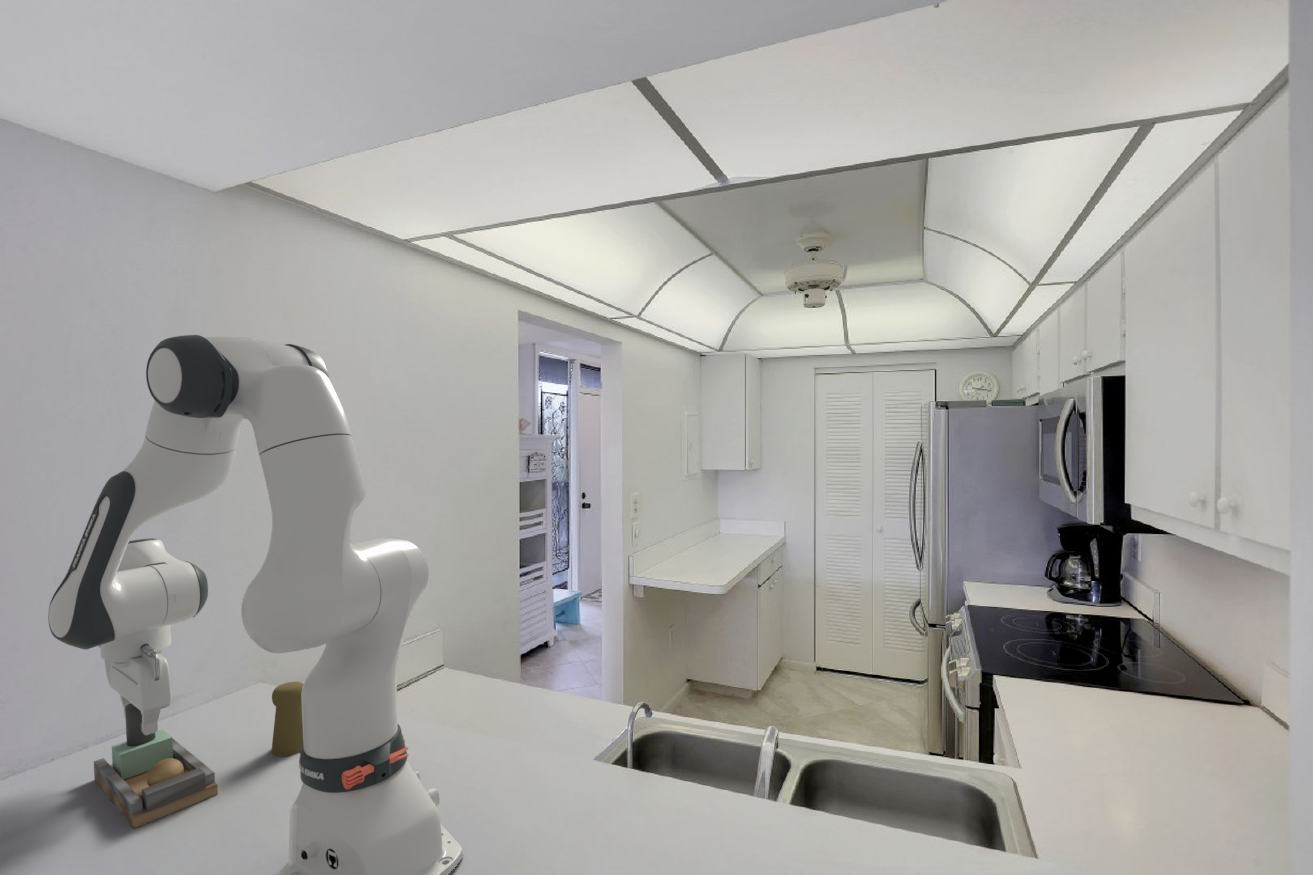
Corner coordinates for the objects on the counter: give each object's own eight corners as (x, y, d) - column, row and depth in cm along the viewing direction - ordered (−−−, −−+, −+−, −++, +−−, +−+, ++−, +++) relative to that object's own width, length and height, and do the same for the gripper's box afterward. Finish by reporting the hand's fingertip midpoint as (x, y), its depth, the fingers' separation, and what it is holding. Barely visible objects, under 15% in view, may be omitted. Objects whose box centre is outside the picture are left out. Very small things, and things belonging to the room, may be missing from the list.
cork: (293, 757, 106) (290, 692, 106) (262, 754, 108) (259, 690, 108) (319, 739, 112) (316, 678, 112) (289, 737, 114) (287, 676, 113)
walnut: (188, 786, 96) (187, 757, 96) (152, 800, 92) (151, 770, 92) (179, 777, 98) (177, 749, 98) (143, 791, 95) (142, 762, 95)
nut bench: (217, 793, 96) (216, 767, 96) (134, 828, 88) (133, 799, 88) (170, 753, 109) (169, 730, 109) (94, 779, 101) (93, 754, 101)
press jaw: (173, 761, 103) (170, 700, 103) (121, 780, 98) (118, 716, 98) (163, 752, 106) (160, 693, 106) (112, 770, 101) (109, 708, 101)
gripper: (181, 645, 98) (185, 734, 98) (142, 624, 111) (146, 703, 111) (130, 658, 93) (134, 751, 93) (95, 634, 106) (99, 717, 106)
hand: (140, 725), depth 102 cm, fingers open, 8 cm apart
